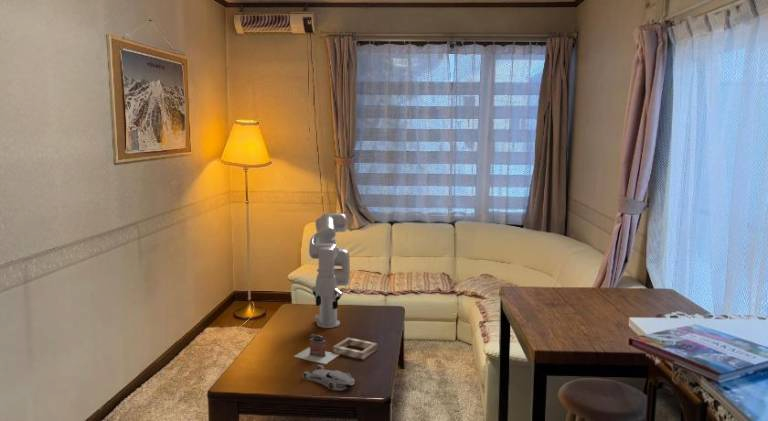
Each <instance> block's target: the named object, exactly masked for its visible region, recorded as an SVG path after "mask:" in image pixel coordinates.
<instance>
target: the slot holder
mask: <svg viewBox="0 0 768 421" xmlns="http://www.w3.org/2000/svg"><path fill="white" fill-rule="evenodd" d="M349 346H352V347H356V348H360V349H361V348H362V349H363V350H358V349H353V348H349ZM378 346H379V344H378V342H377V343H376V342H374V341H373V342H372V341H368V340H363V339H358V338H353V337H346V338H345V339H343V340H342V341H340V342H338V343H337V344H335V345H334V346H332V353H335V354H340V355H342V356H345V357H350V358H355V359H360V360H365V359H366V358H368V357H369V356H371V355H372V354H373V353H375V352H376V351H378Z"/></svg>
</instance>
